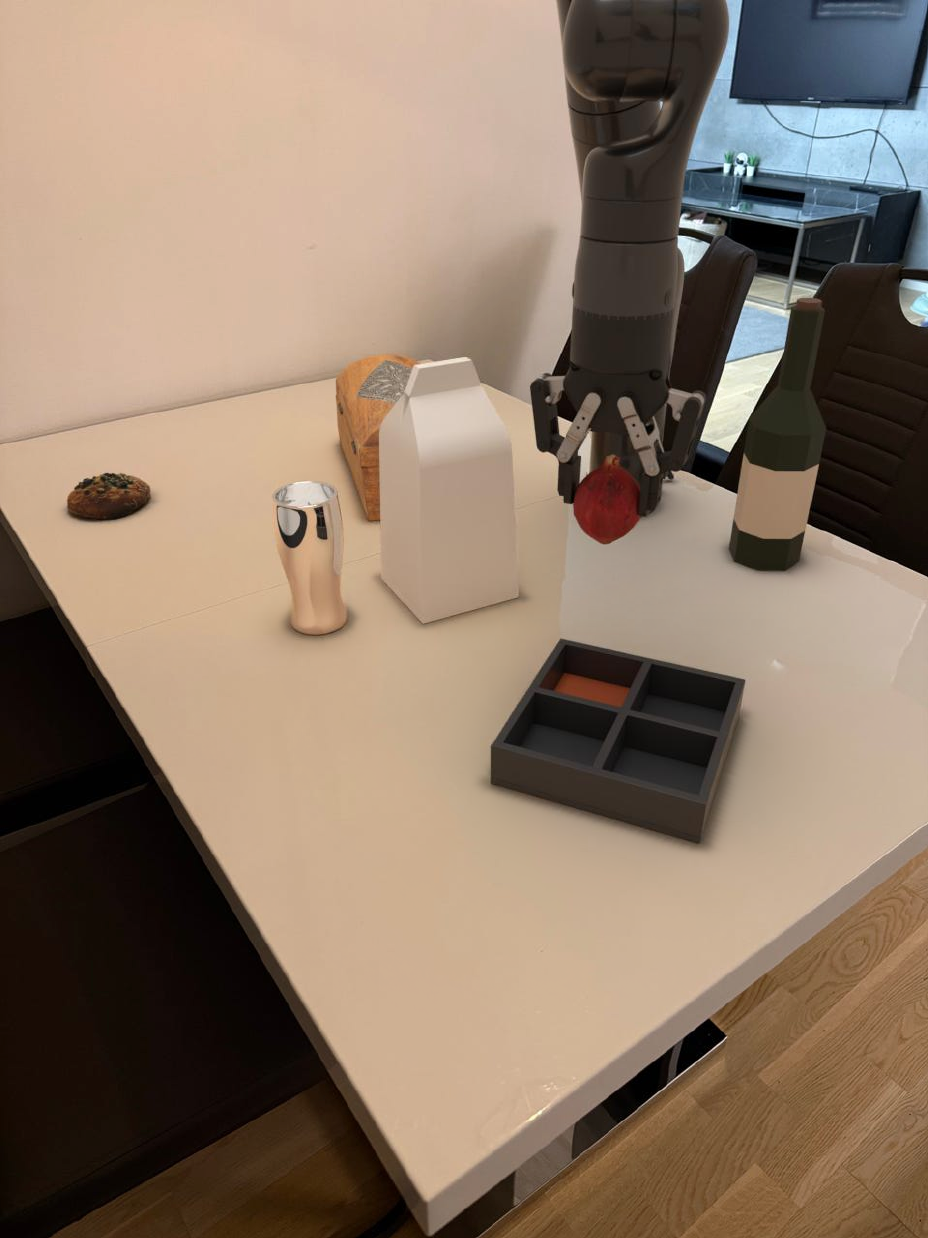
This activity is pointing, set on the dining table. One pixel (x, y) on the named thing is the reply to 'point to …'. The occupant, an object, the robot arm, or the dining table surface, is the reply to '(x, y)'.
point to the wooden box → (368, 418)
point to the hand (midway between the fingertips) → (607, 505)
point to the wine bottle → (782, 454)
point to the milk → (447, 495)
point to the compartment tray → (621, 737)
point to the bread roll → (108, 496)
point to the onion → (607, 502)
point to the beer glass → (311, 553)
